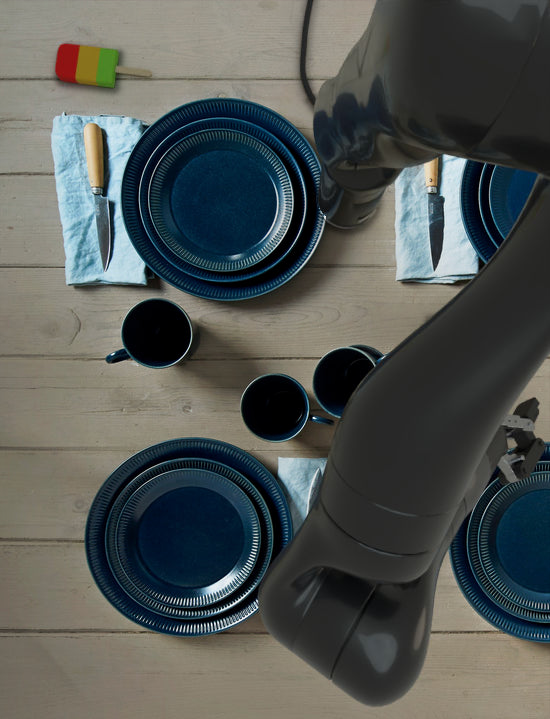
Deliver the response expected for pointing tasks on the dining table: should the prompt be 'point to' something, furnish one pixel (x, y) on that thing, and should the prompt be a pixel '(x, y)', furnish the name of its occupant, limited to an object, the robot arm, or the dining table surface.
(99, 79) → the popsicle
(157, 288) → the dining table surface
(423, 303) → the dining table surface
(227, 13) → the dining table surface
